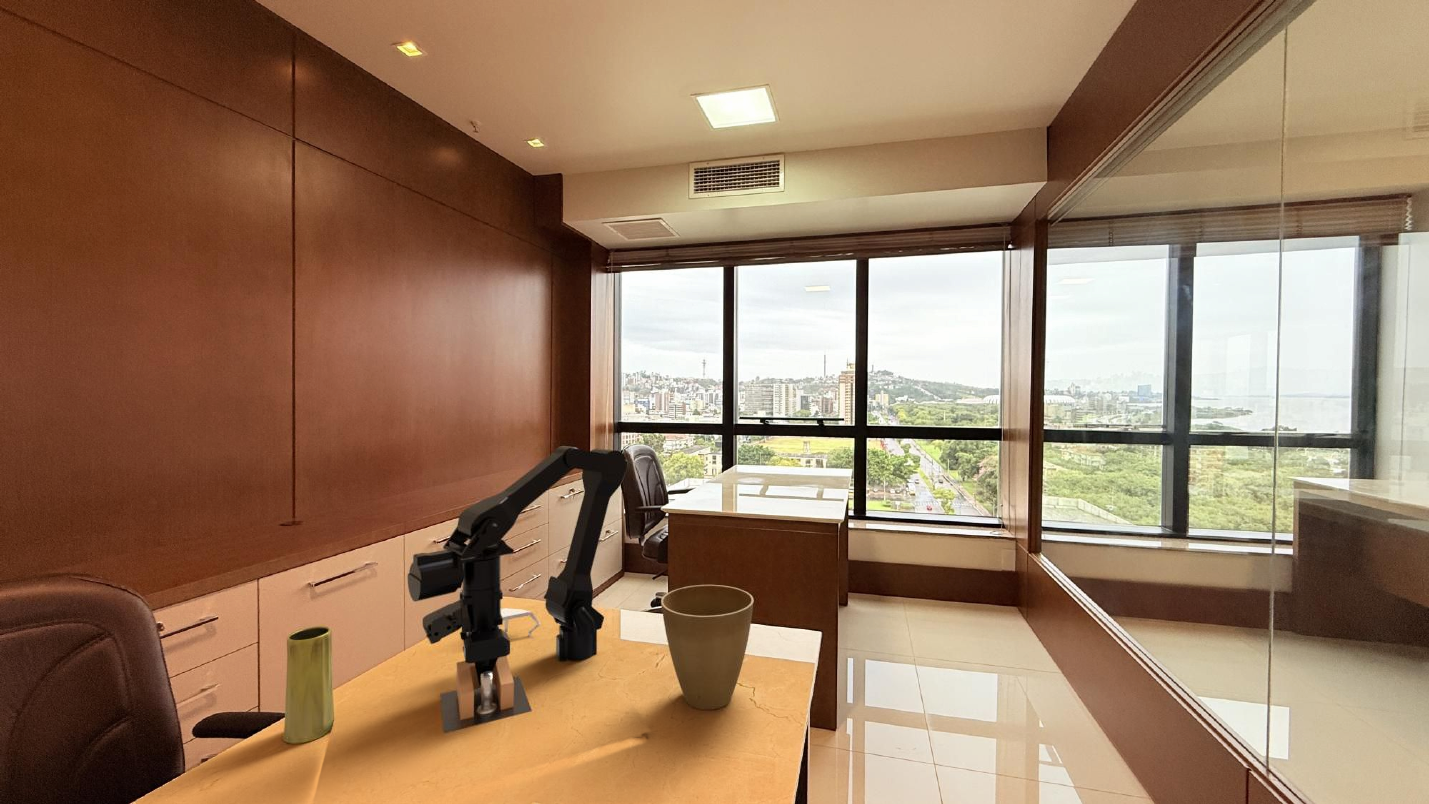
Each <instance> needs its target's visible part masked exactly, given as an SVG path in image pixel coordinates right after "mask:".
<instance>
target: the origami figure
mask: <svg viewBox="0 0 1429 804" xmlns="http://www.w3.org/2000/svg"><path fill="white" fill-rule="evenodd" d="M501 616H502V618H503V621H504V630H503V631H504V632H508V629H509V621H510V620H514V619H518V618H523V617H527V616H530V617H531V619H532V620H533V621H534V622H535V624H536V625H535V626H533V628H532V629H530V630H529V631H528V637H529V638H532V636H533V635H532V633H533V631H535V630H536V629H537V628H539V627H540V626H541V623H540V621H539V620H538V619H537V617H536V616H535V614H534V613H533V612H532V611H529V610H525V609H522V608H521V609H519V608H506V607H505V608H501ZM498 626H499V629H501V626H502V625H498Z"/></svg>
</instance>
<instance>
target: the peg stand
mask: <svg viewBox="0 0 1429 804" xmlns="http://www.w3.org/2000/svg"><path fill="white" fill-rule="evenodd" d="M512 677H513V676H512ZM513 681H514V705H513V707H511V708H507V709H503V710H501V708H500V704H499V699H498V695H497V691H496V686H495V685H492V671H485V672H483V673H481V688H478V689H474V717H471V718H467V719H463V720H460V713H459V704H458V696H457V689H455V690H451V691H447V692H442V693H440V703H441V704H440V705H441V707H440V708H441V717H442V729H443V730H442V731H443V734H447V733H450V732H451V733H452V732H455V731H459V730H462V729H463V730H464V729H467V728H470V727H475V726H478V725H483V724H487V723H490V722H491V723H492V722H495V721H498V720H502V719H506V718H511V717H514V716H518V715H521V714H525V713H529V712H532V711H533V710H532V708H531V707H532V706H531V705H530V702H529V699H528V696H527V694H526V691H525V688H524V686H523V684H522V680H521V678H520V676H519V675H518V676H514V677H513Z"/></svg>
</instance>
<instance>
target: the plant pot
mask: <svg viewBox="0 0 1429 804" xmlns="http://www.w3.org/2000/svg"><path fill="white" fill-rule="evenodd" d="M660 604H661V605H660V606H661V612H662V617H663V626H664V629H665V635H666V639H667V640H666V641H667V644H668V645H667V646H668V649H669V653H670V658H671V661H672V665H673V667H674V671H675V674H676V678H677V680H678V683H679V686H680V688H681V692H682V694H683V697H684V699H685V701H686V703H687V704H688V705H689V706H690V707H692V708H695V709H700V710H705V711H707V710H708V711H710V710H716V709H717V710H718V709H721V708H723V707H725V706H727V705H728V704H729V703H730V701H731V699H732V697H733V694H734V692H735V688H736V686H737V683H738V679H739V677H740V674H741V670H742V665H743V663H744V659H745V654H746V651H747V650H746V649H747V646H748V642H749V641H748V640H749V637H750V636H749V635H750V631H751V624H752V618H753V611H754V610H753V609H754V597H753V595H752V594H751V593H749V592H748V591H745V590H743V589H742V588H741V589H740V588H737V587H735V586H734V587H733V586H727V585H716V584H699V585H689V586H684V587H680V588H676V589H673V590H671V591H669V592H667V593H666V594H665V595H663V596H662V598H661V600H660Z"/></svg>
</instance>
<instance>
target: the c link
mask: <svg viewBox="0 0 1429 804" xmlns="http://www.w3.org/2000/svg"><path fill="white" fill-rule="evenodd" d="M492 685H495V686H496V691H497V695H498V699H499V704H500V708H501V710H503V709H507V708H511V707H513V705H514V681H513V675H512V671H511V667H510V664H509V661H508V655H507V656H504V657H499V658H498V660H497V662H496V664H495V666H494V668H493V671H492ZM455 687H456V690H457V696H458V704H459V713H460V720H463V719H467V718H471V717H474V689H478V688H481V686H480V685H479V682H478V677H477V672H476V667H475V663H465V660H464V661H458V662H456V686H455Z"/></svg>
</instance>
